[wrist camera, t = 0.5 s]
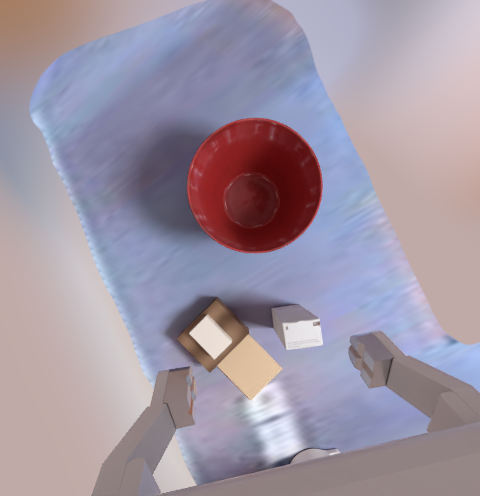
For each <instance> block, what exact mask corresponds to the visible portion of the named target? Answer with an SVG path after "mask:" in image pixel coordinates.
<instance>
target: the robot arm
mask: <svg viewBox="0 0 480 496" xmlns="http://www.w3.org/2000/svg"><path fill="white" fill-rule="evenodd" d="M350 343H351V344H352V345H351V346H350V347H349V352H348V353H349V357H350V360H351V362H352V364H353V365H354V367H355V368H356V369H358V370H360V371H361V374H360V376H361V377H362V379H363V380H364V382H365V383H366V385H367V386H368V387H369V388H375V387H381V386H386V387H388V388H389V389H390V390H392V391H393V392H395V393H396V394H397V395H399V396H400V397H402V398H403V399H404V400H406V401H407V402H409V403H410V404H411V405H413V406H414V407H415V408H417V409H418V410H420V411H421V412H422V413H424V414H425V415H427V416H428V417H429V418H431V419H430V421H429V424H428V426H427V431H428V433H425V434H421V435H416V436H412V437H408V438H403V439H399V440H394V441H390V442H386V443H381V444H377V445H373V446H368V447H364V448H359V449H355V450H351V451H346V452H342V453H340V451H339V450H337V449H331V450H321V449H308V450H305V451H302V452H301V453H299V454H298V455H296V456H295V457H294V458H293V460H292V461H291V463H290V464H289V465H285V466H281V467H276V468H272V469H268V470H263V471H259V472H254V473H250V474H246V475H241V476H237V477H233V478H228V479H224V480H220V481H215V482H211V483H206V484H202V485H198V486H193V487H189V488H185V489H180V490H176V491H171V492H167V493H163V494H160V489H159V487H158V485H157V483H156V481H155V479H154V477H153V476H152V474H153V473H154V471H155V469H156V467H157V465H158V463H159V461H160V460H161V458H162V456H163V454H164V452H165V450H166V448H167V446H168V445H169V443H170V441H171V439H172V437H173V435H174V433H175V431H176V429H178V428H182V427H186V426H190V425H195V412H196V408H195V405H194V401H195V400H196V382H195V378H194V377H193V376H192V374H193V370H192V367H191V366H188V367H182V368H176V369H170V370H164V371H159V373H158V375H157V379H156V383H155V387H154V392H153V397H152V401H151V405H150V407H147V408H146V409H145V410H144V412H143V413H142V414H141V415H140V417H139V418H138V419H137V421H136V422H135V423H134V424H133V426H132V427H131V429H129V431H128V432H127V433H126V435H125V436H124V437H123V438H122V440H121V441H120V442H119V444H118V445H117V446H116V447H115V449H114V450H113V451H112V452H111V454H110V455H109V456H108V458H107V459H106V460H105V462H104V463H103V464H102V467H101V470H100V473H99V476H98V479H97V482H96V485H95V488H94V491H93V494H92V496H480V393H479V392H478V391H477V390H476V389H475V388H474V387H473V386H471V385H469V384H467V383H465V382H463V381H461V380H459V379H457V378H455V377H453V376H450V375H448V374H446V373H444V372H442V371H440V370H438V369H436V368H434V367H432V366H430V365H428V364H426V363H423V362H421V361H419V360H417V359H415V358H413V357H411V356H406V355H405V354H404V353H403V352H402V351H401V350H400V349H399V348H398V347H397V346H396V345H395V344H394V343H393V342H392V341H391V340H390V339H389V338H388V337H387V336H386V335H385V334H384V333H383V332H382V331H375V332H370V333H364V334H359V335H354V336H351V337H350Z"/></svg>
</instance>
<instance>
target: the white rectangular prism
mask: <svg viewBox="0 0 480 496" xmlns="http://www.w3.org/2000/svg"><path fill="white" fill-rule="evenodd" d="M189 334H190V335H191V336H192V337H193V338H194V339H195V340H196V341H197V342H198V343H199V344H200V345H201V346H202V347H203V348H204V349H205V350H206V351H207V352H208V353H209V354H210V355H211V357H212V358H213V359H214V360H215V359H216V358H217V357H218V356H219V355H220V354H221V353H222V352H223V351H224V350H225V349H226V348H227V347H228V346H229V345H230V344H231V343H232V338H231V337H230V336H229V335H228V334H227V333H226V332H225V331H224V330H223V329H222V328H221V327H220V326H219V325H218V324H217V323H216V322H215V321H214V320H213V319H212V318H211V317H210V316H209V315H208V314H207V315H206V316H205V317H204V318H203V319H202V320H201V321H200V322H199V323H198V324H197V325H196V326H195V327H194V328H193V329H192V330H191V331H190V332H189Z"/></svg>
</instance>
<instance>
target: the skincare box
mask: <svg viewBox="0 0 480 496" xmlns="http://www.w3.org/2000/svg"><path fill="white" fill-rule="evenodd" d="M271 310H272V318H273V327H274V330H275V332H276V333H277V335H278V337H279V339H280V340H281V342H282V344H283V345H284V347H285V349H286V350H291V349H299V348H307V347H314V346H321V345H323V342H322V335H321V327H320V319H319V318H318V317H316V316H315V315H313V314H312V313H311V312H309V311H308V310H306V309H305V308H303V307H302V306H301V305H291V306H283V307H277V308H271Z"/></svg>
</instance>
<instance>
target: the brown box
mask: <svg viewBox="0 0 480 496" xmlns="http://www.w3.org/2000/svg"><path fill="white" fill-rule="evenodd" d="M207 314H208V315H209V316H210V317H211V318H212V319H213V320H214V321H215V322H216V323H217V324H218V325H219V326H220V327H221V328H222V329H223V330H224V331H225V332H226V333H227V334H228V335H229V336H230V337H231V338H232V343H231V344H230V345H229V346H228V347H227V348H226V349H225V350H224V351H223V352H222V353H221V354H220V355H219V356H218V357H217V358H216V359H215V360H214V359H213V358H212V357H211V355H210V354H209V353H208V352H207V351H206V350H205V349H204V348H203V347H202V346H201V345H200V344H199V343H198V342H197V341H196V340H195V339H194V338H193V337H192V336H191V335H190V334H189V332H190V331H191V330H192V329H193V328H194V327H195V326H196V325H197V324H198V323H199V322H200V321H201V320H202V319H203V318H204V317H205V316H206V315H207ZM248 334H249V329H248V328H247V327H246V326H245V325H244V323H243V322H242V321H241V320H240V319H239V318H238V317H237V316H236V315H235V314H234V313H233V312H232V311H231V310H230V309H229V308H228V307H227V306H226V305H225V304H224V303H223V302H222V301H221V300H220V299H219V298H218V297H217V298H216V299H215V300H214V301H213V302H212V303H211V304H210V305H209V306H208V307H207V308H206V309H205V310H204V311H203V312H202V313H201V314H200V315H199V316H198V317H197V318H196V319H195V320H194V321H193V322H192V323H191V324H190V325H189V326H188V327H187V328H186V329H185V330H184V331H183V332H182V333H181V334H180V335H179V337H178V338H177V340H178V341H179V342H180V343H181V344H182V345H183V346H184V347H185V348H186V349H187V350H188V351H189V352H190V353H191V354H192V355H193V356H194V357H195V358H196V359H197V360H198V361H199V362H200V363H201V364H202V365H203V366H204V367H205V368H206V369H207V370H208V371H209V372H211V371H212V370H213V369H214V368H215V367H216V366H217V365H218V364H219V363H220V362H221V361H222V360H223V359H224V358H225V357H226V356H227V355H228V354H229V353H230V352H231V351H232V350H233V349H234V348H235V347H236V346H237V345H238V344H239V343H240V342H241V341H242V340H243V339H244V338H245V337H246V336H247V335H248Z"/></svg>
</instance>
